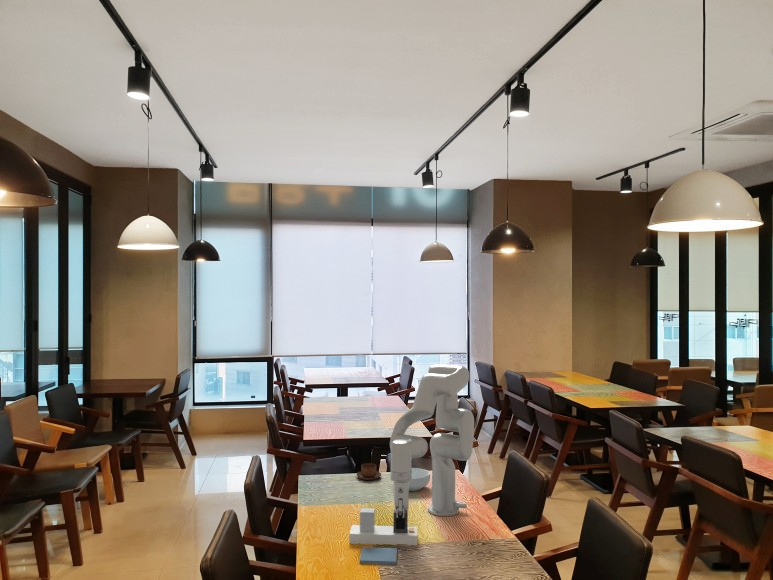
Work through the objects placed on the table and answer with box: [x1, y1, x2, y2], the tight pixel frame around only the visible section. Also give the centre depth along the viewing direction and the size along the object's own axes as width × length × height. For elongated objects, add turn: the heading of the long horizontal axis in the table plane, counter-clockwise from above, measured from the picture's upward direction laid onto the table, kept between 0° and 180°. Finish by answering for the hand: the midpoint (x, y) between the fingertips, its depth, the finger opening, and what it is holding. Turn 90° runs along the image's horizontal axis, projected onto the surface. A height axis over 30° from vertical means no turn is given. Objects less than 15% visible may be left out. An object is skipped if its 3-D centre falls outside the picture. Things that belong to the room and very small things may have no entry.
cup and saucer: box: [356, 462, 382, 481], centre depth 282 cm, size 12×12×6 cm
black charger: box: [392, 508, 409, 533], centre depth 210 cm, size 5×4×8 cm
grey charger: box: [359, 507, 376, 532], centre depth 211 cm, size 5×4×8 cm
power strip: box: [349, 524, 418, 546], centre depth 210 cm, size 24×8×4 cm, turn 87°
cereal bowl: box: [409, 467, 431, 492], centre depth 268 cm, size 17×17×7 cm
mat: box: [359, 546, 398, 565], centre depth 196 cm, size 12×10×1 cm
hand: (400, 524), depth 210 cm, fingers open, 7 cm apart
